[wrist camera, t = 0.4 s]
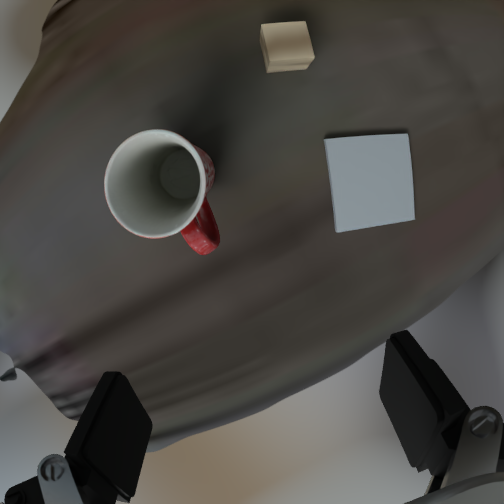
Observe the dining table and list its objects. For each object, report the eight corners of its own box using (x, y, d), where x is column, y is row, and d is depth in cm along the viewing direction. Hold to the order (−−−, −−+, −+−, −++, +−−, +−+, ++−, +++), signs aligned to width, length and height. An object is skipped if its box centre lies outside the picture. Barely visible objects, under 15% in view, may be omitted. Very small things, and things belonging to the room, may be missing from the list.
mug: (138, 163, 34) (86, 171, 21) (197, 123, 33) (170, 107, 20) (189, 244, 38) (162, 291, 25) (249, 209, 36) (251, 241, 24)
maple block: (259, 39, 29) (261, 24, 25) (298, 36, 29) (305, 21, 24) (266, 73, 31) (269, 61, 26) (306, 69, 31) (314, 57, 26)
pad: (323, 139, 34) (325, 139, 33) (404, 133, 33) (407, 133, 32) (335, 230, 37) (337, 232, 37) (411, 218, 37) (414, 219, 36)
